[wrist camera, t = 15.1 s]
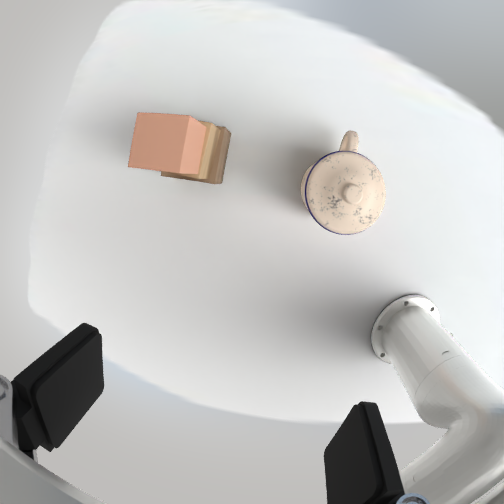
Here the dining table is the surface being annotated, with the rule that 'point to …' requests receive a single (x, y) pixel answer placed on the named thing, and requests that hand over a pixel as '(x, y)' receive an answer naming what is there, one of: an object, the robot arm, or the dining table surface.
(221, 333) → the dining table surface
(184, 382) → the dining table surface
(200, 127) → the terracotta block
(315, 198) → the teacup with lid
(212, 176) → the tower base
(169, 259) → the dining table surface
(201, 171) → the block
